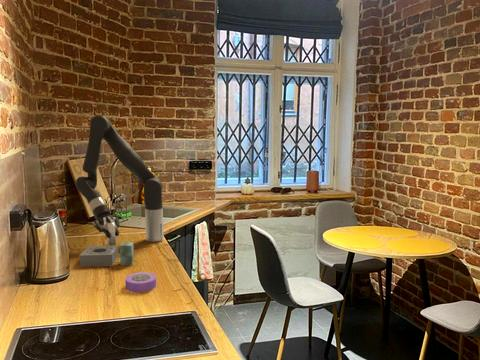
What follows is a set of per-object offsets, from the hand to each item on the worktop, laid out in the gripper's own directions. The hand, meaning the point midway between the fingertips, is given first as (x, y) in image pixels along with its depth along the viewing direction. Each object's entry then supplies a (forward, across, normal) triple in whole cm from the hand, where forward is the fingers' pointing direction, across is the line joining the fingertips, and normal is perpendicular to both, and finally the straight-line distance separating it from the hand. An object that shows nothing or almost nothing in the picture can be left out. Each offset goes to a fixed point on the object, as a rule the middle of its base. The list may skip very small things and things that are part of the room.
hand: (113, 236), depth 213 cm
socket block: (+11, -13, 0) cm, 17 cm away
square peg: (+20, -6, -9) cm, 22 cm away
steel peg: (+2, 0, +5) cm, 5 cm away
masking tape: (+39, -18, -28) cm, 51 cm away
